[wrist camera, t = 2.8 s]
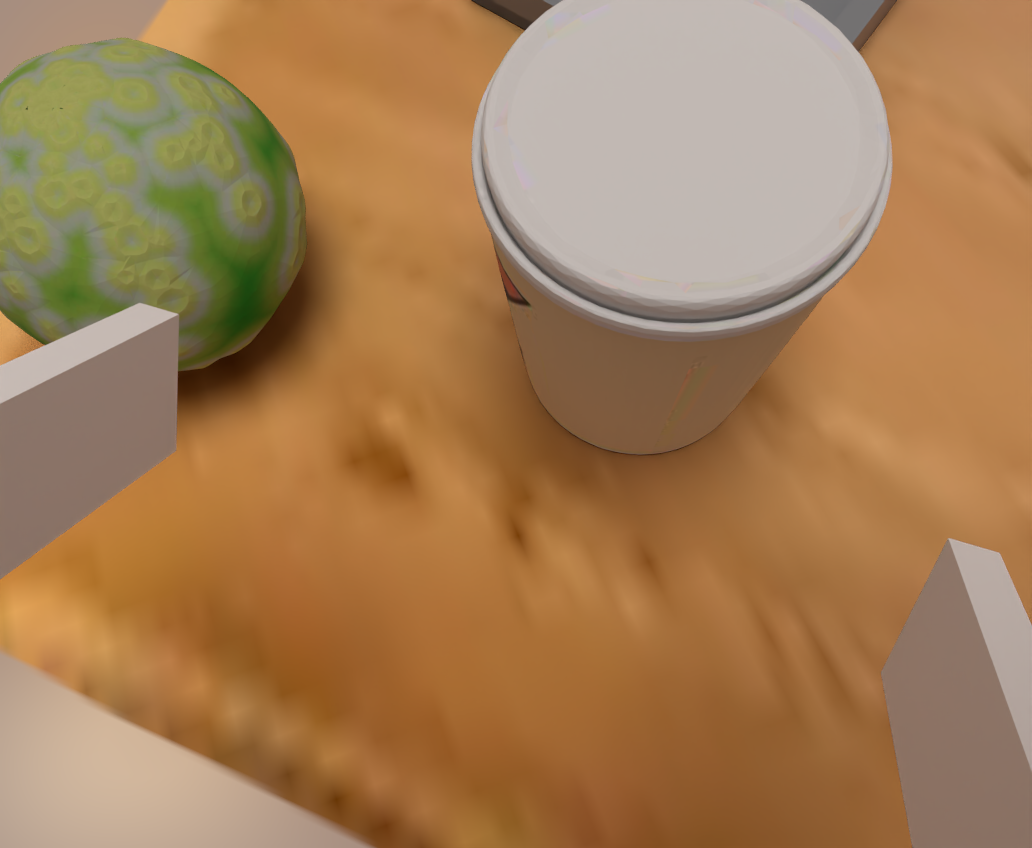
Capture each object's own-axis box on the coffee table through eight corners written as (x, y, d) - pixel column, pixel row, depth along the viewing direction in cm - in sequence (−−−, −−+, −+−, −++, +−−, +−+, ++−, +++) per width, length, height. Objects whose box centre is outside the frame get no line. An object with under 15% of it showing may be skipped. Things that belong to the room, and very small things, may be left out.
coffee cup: (558, 199, 33) (559, -86, 21) (807, 279, 31) (950, 18, 20) (458, 423, 30) (398, 232, 19) (726, 522, 28) (838, 380, 17)
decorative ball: (284, 449, 30) (159, 317, 20) (20, 382, 31) (-213, 228, 22) (376, 203, 33) (303, -10, 23) (132, 151, 34) (-31, -72, 25)
